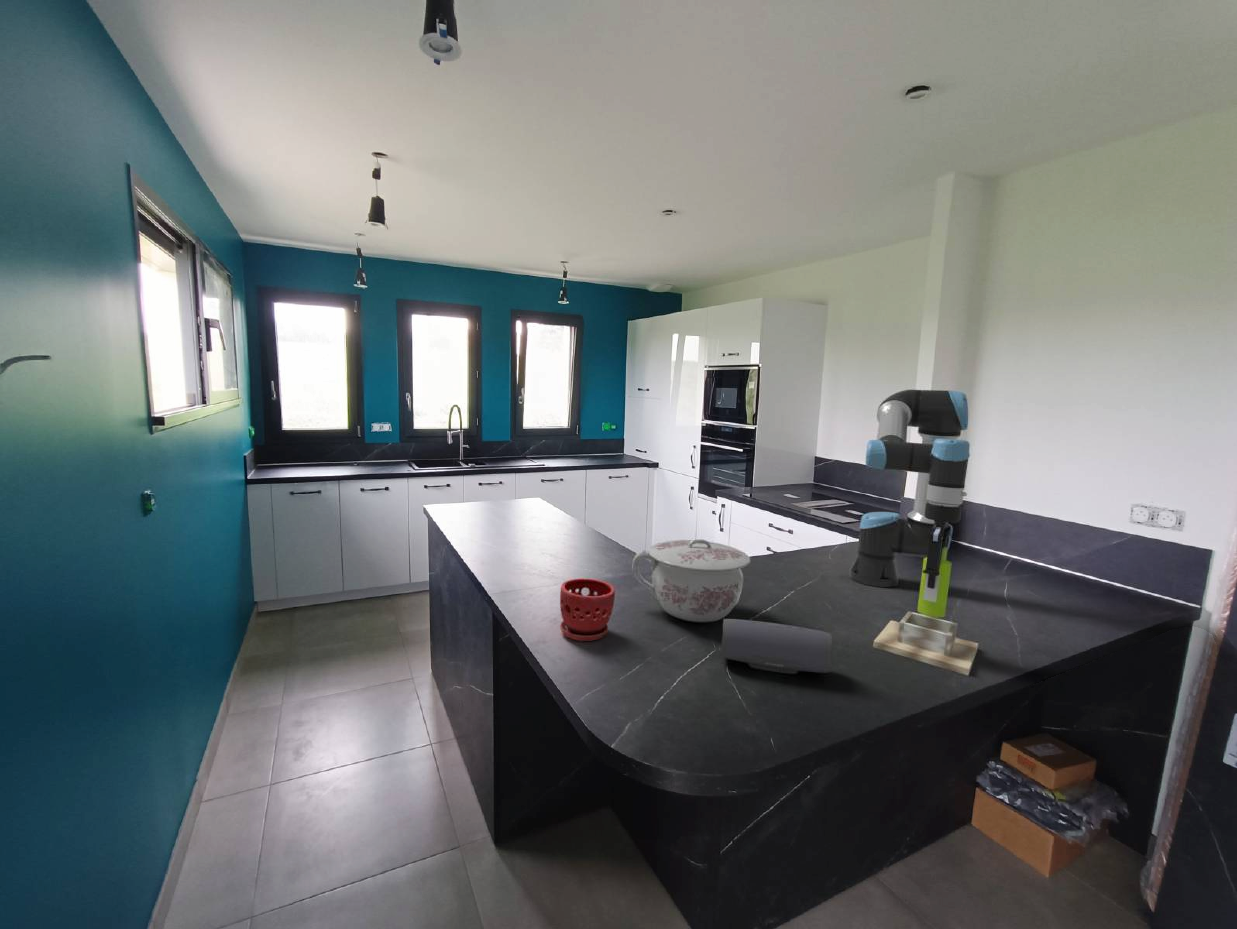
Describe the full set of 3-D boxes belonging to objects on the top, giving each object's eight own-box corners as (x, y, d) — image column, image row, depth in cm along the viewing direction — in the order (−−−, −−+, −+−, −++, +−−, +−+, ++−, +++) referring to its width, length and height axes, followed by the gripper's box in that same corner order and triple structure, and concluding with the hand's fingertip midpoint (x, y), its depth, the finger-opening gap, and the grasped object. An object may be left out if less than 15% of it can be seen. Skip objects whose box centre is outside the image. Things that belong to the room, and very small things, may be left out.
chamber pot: (764, 615, 153) (771, 542, 150) (708, 644, 133) (714, 560, 130) (682, 587, 172) (686, 522, 169) (622, 609, 151) (626, 535, 149)
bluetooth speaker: (823, 666, 125) (828, 623, 123) (829, 686, 116) (834, 641, 114) (721, 650, 130) (724, 609, 128) (719, 669, 121) (722, 625, 119)
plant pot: (571, 649, 126) (573, 598, 125) (550, 627, 138) (552, 580, 136) (621, 640, 132) (624, 592, 131) (598, 619, 144) (600, 574, 142)
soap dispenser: (940, 609, 138) (950, 530, 136) (947, 619, 132) (958, 537, 129) (914, 605, 140) (924, 528, 138) (919, 614, 134) (929, 533, 131)
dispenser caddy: (872, 646, 136) (875, 621, 135) (890, 625, 150) (893, 602, 149) (968, 675, 124) (972, 647, 123) (977, 649, 138) (981, 624, 137)
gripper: (956, 511, 123) (943, 611, 125) (967, 501, 137) (955, 591, 140) (918, 505, 127) (906, 602, 130) (933, 496, 142) (922, 584, 145)
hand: (932, 596), depth 135 cm, fingers closed on soap dispenser, 6 cm apart
